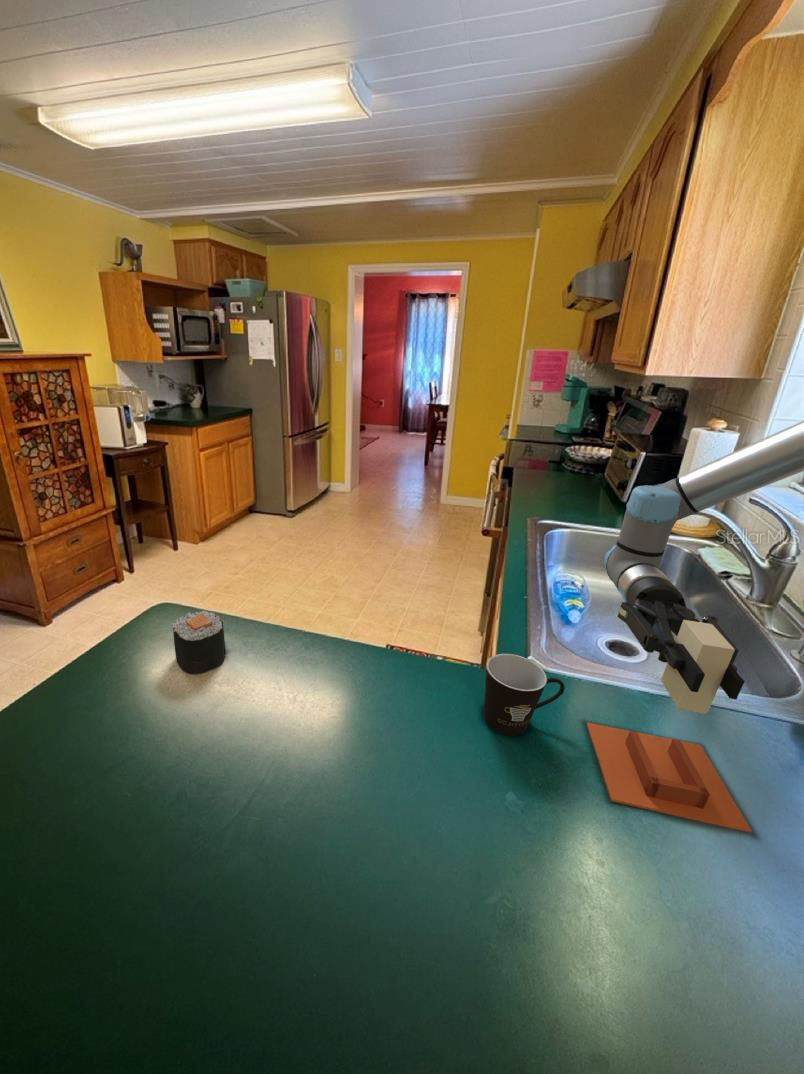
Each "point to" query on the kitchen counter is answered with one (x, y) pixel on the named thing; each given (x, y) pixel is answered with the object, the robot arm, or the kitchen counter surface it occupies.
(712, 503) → the robot arm
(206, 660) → the sushi
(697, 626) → the block
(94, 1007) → the kitchen counter surface
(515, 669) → the coffee mug
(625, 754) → the base pad
